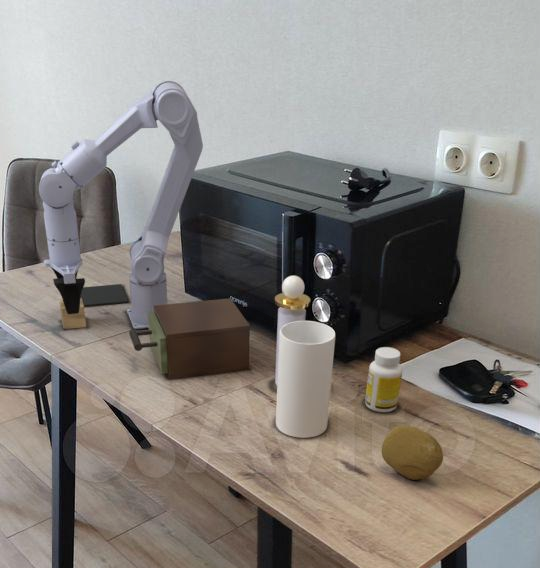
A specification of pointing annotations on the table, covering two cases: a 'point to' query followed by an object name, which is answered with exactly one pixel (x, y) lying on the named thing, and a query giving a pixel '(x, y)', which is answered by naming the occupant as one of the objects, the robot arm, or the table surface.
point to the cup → (304, 378)
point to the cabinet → (204, 337)
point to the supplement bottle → (384, 380)
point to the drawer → (153, 341)
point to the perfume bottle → (290, 307)
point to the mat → (103, 295)
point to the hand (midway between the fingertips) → (71, 305)
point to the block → (72, 317)
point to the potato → (412, 452)
